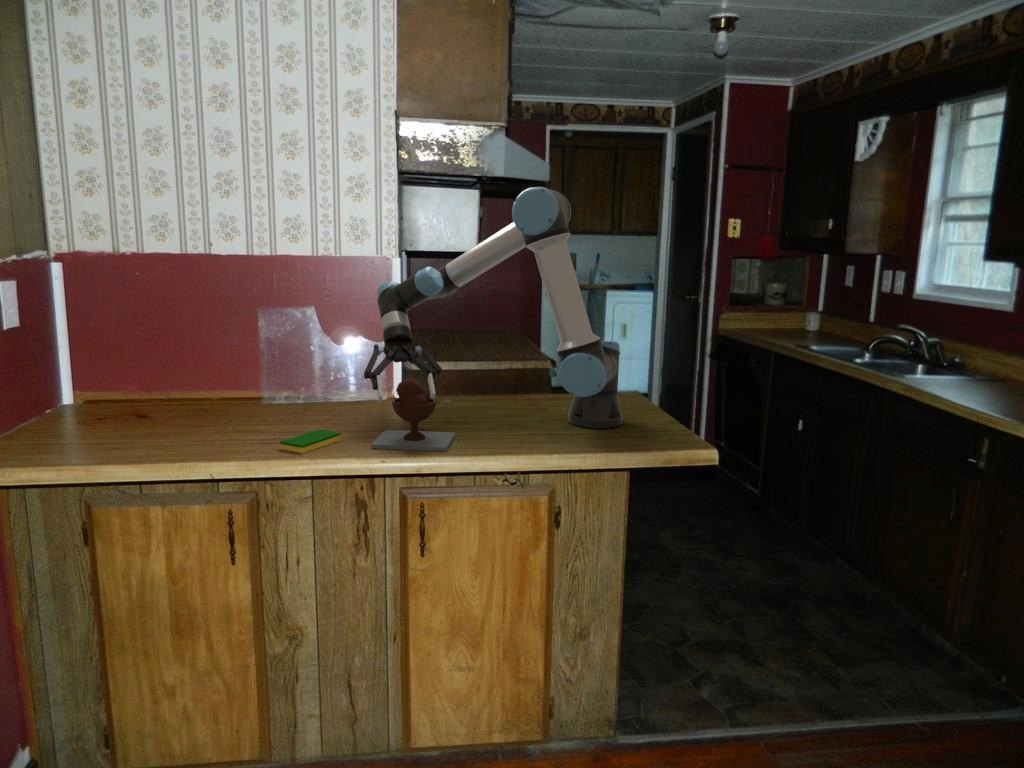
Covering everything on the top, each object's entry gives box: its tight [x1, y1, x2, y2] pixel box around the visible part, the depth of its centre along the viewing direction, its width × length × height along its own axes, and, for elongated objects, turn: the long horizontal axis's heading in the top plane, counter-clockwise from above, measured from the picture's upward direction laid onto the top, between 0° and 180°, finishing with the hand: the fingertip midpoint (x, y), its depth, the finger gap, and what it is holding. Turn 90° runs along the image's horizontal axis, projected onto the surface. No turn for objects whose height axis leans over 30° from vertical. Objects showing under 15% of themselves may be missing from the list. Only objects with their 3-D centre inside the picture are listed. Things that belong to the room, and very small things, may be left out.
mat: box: [370, 429, 456, 453], centre depth 184 cm, size 18×14×1 cm
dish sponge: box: [279, 428, 342, 454], centre depth 180 cm, size 7×14×2 cm, turn 153°
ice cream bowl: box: [391, 378, 437, 441], centre depth 182 cm, size 11×11×15 cm
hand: (407, 398), depth 190 cm, fingers open, 13 cm apart
